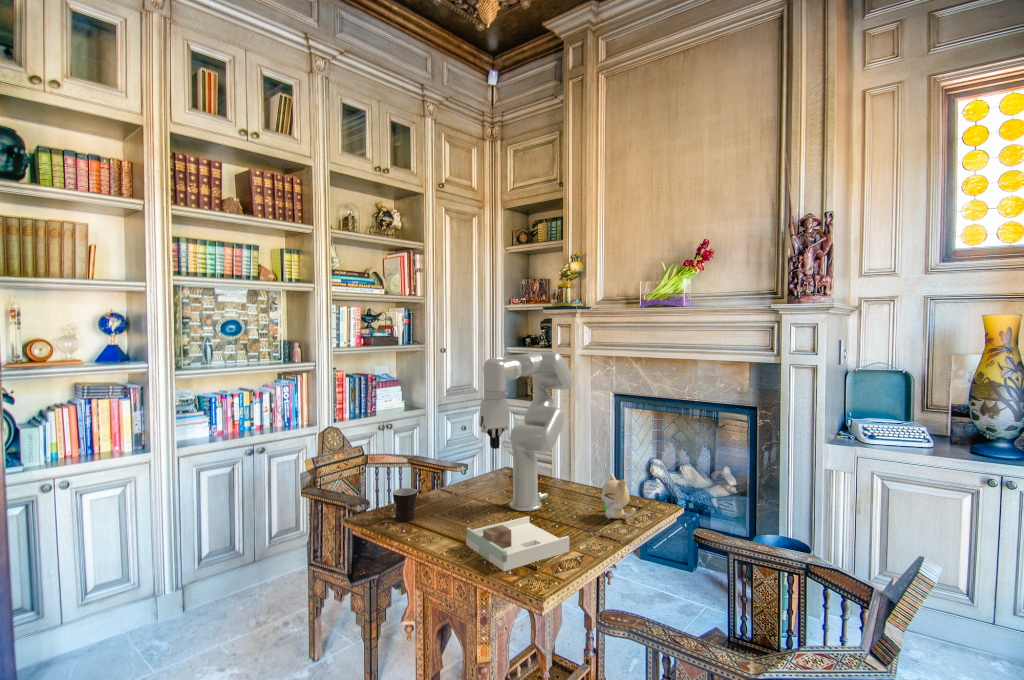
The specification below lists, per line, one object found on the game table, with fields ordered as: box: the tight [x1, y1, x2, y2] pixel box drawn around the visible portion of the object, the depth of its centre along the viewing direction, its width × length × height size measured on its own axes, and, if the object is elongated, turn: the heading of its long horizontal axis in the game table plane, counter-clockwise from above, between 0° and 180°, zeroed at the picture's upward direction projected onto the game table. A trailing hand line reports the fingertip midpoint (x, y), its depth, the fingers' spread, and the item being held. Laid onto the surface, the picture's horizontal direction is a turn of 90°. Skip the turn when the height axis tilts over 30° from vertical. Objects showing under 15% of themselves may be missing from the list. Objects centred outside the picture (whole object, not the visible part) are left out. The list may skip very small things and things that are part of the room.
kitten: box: [600, 472, 636, 520], centre depth 192 cm, size 15×10×15 cm
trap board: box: [465, 515, 570, 572], centre depth 164 cm, size 24×22×6 cm
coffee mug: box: [392, 487, 418, 523], centre depth 189 cm, size 12×9×10 cm
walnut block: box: [483, 525, 511, 549], centre depth 160 cm, size 7×5×5 cm
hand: (494, 447), depth 184 cm, fingers closed
